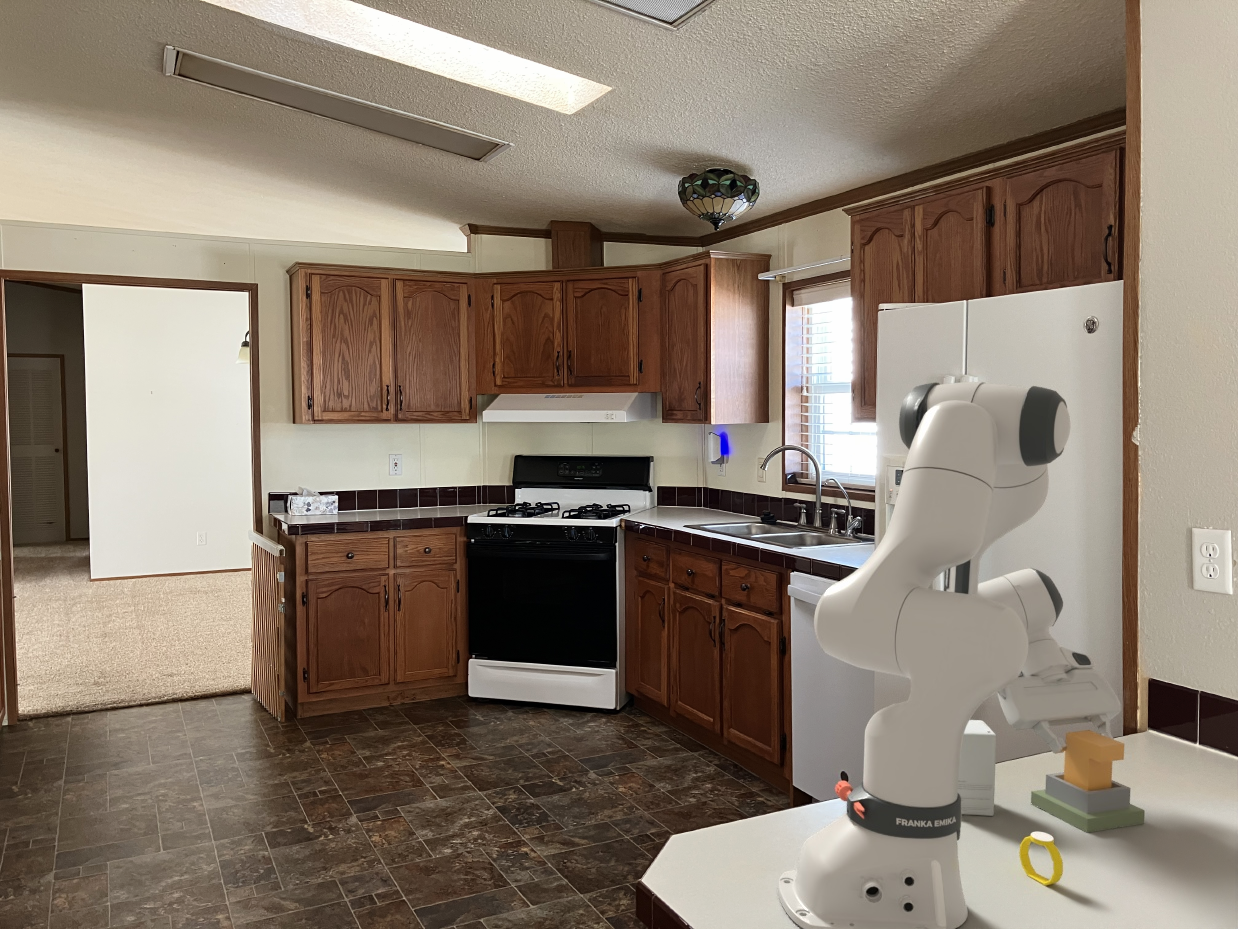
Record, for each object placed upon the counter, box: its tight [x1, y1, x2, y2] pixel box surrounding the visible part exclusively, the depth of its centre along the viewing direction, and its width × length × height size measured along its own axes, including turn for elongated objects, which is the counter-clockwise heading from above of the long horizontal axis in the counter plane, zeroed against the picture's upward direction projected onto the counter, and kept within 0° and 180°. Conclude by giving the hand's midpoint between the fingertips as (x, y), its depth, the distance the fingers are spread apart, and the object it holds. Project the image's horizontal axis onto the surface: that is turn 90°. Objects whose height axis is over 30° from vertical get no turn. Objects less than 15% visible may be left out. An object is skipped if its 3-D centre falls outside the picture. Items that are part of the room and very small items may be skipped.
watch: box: [1018, 831, 1064, 887], centre depth 125 cm, size 6×3×6 cm, turn 23°
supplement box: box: [958, 719, 997, 817], centre depth 149 cm, size 7×7×13 cm
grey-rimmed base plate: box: [1030, 771, 1146, 833], centre depth 147 cm, size 11×11×5 cm
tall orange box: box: [1063, 729, 1125, 791], centre depth 146 cm, size 7×5×10 cm
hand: (1085, 748), depth 147 cm, fingers open, 8 cm apart
